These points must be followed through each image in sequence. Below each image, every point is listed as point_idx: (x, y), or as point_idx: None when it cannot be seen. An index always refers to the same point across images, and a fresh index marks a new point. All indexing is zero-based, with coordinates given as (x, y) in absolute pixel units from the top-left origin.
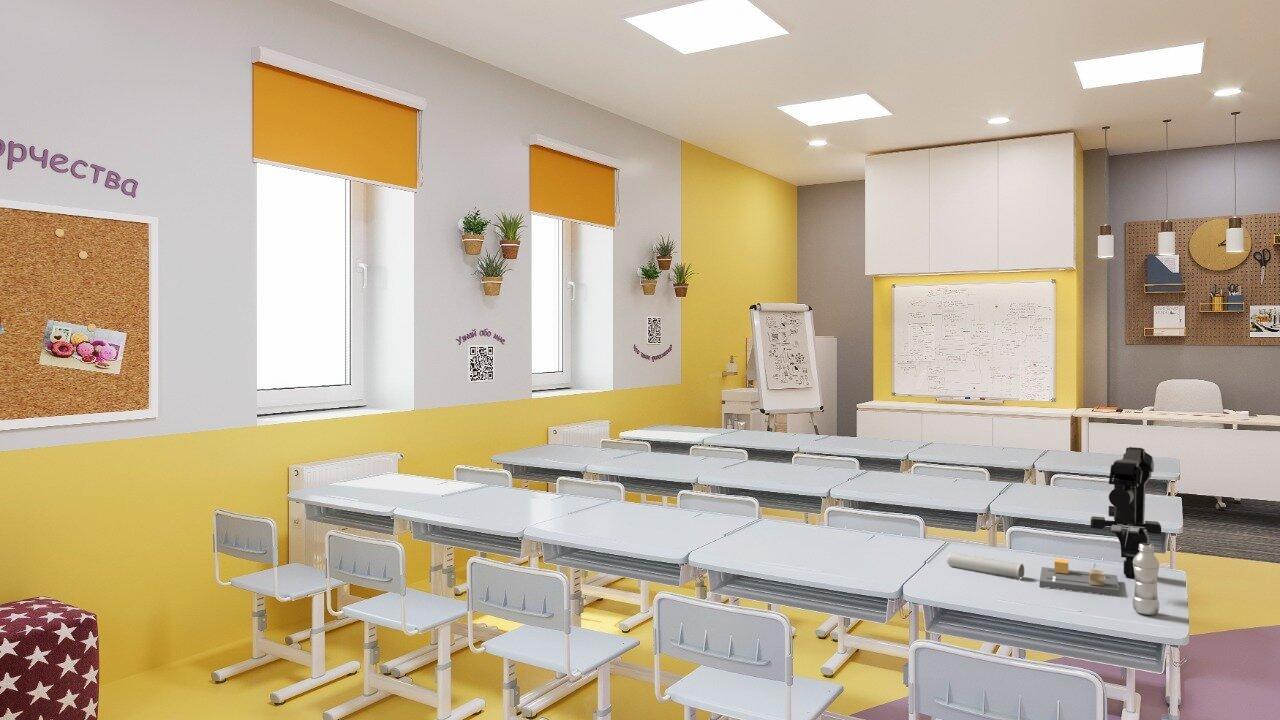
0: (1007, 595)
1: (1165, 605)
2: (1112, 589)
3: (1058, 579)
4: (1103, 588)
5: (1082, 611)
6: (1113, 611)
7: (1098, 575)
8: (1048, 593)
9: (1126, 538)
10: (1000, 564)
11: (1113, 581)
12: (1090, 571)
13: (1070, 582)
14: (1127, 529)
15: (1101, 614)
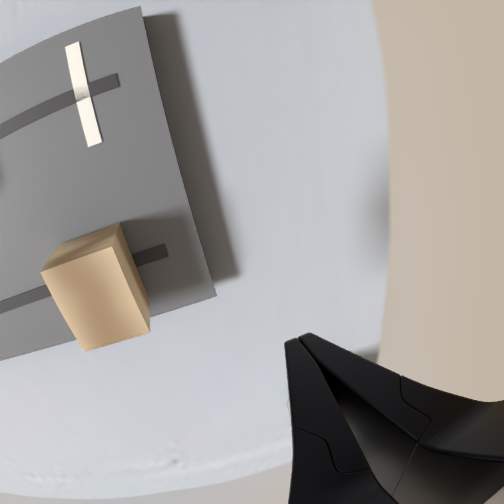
0: (8, 452)
1: (360, 270)
2: (189, 304)
3: None
4: (153, 314)
5: (179, 460)
6: (238, 423)
7: (123, 336)
8: (33, 399)
9: (389, 460)
10: None
11: (150, 153)
12: (68, 318)
13: (25, 325)
14: (490, 497)
15: (221, 452)
